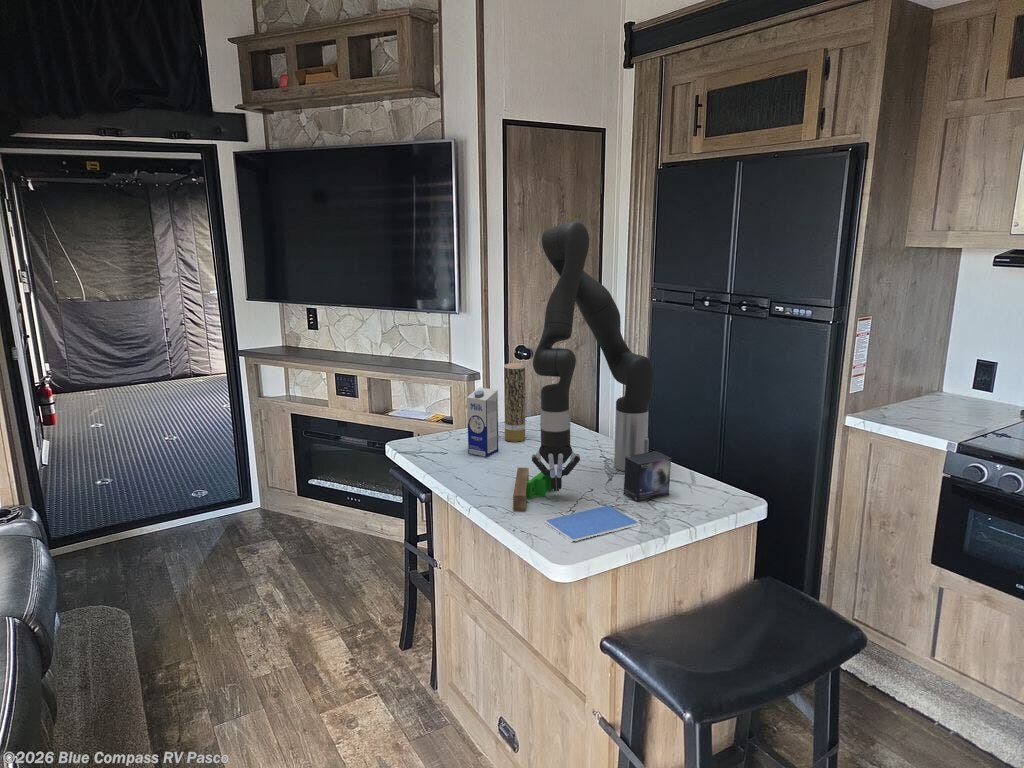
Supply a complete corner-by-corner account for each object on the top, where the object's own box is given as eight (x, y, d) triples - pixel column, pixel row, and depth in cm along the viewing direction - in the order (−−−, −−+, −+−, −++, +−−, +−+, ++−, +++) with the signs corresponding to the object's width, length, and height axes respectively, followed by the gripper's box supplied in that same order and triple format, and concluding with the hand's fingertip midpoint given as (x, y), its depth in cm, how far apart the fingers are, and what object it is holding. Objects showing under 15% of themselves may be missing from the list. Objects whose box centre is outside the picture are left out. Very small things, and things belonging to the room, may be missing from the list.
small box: (637, 503, 171) (639, 463, 168) (622, 494, 176) (623, 456, 174) (670, 495, 176) (672, 457, 173) (654, 487, 181) (656, 450, 179)
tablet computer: (608, 508, 169) (609, 503, 169) (641, 527, 158) (641, 522, 158) (542, 525, 160) (542, 519, 159) (572, 546, 149) (572, 540, 149)
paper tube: (528, 438, 225) (528, 364, 219) (520, 443, 219) (519, 367, 213) (510, 435, 228) (509, 362, 222) (501, 441, 222) (500, 366, 216)
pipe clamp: (539, 501, 172) (539, 484, 171) (526, 499, 174) (526, 482, 173) (557, 486, 182) (557, 470, 181) (545, 484, 184) (545, 468, 183)
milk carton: (498, 451, 211) (498, 389, 207) (486, 457, 205) (485, 393, 201) (480, 448, 215) (479, 386, 210) (467, 453, 209) (466, 390, 205)
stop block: (528, 481, 186) (528, 467, 185) (525, 510, 166) (525, 495, 165) (517, 481, 186) (517, 467, 185) (513, 510, 166) (513, 495, 166)
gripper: (580, 421, 175) (581, 484, 178) (529, 422, 175) (531, 484, 179) (582, 430, 167) (582, 495, 171) (528, 430, 168) (530, 495, 172)
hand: (556, 490), depth 175 cm, fingers closed
